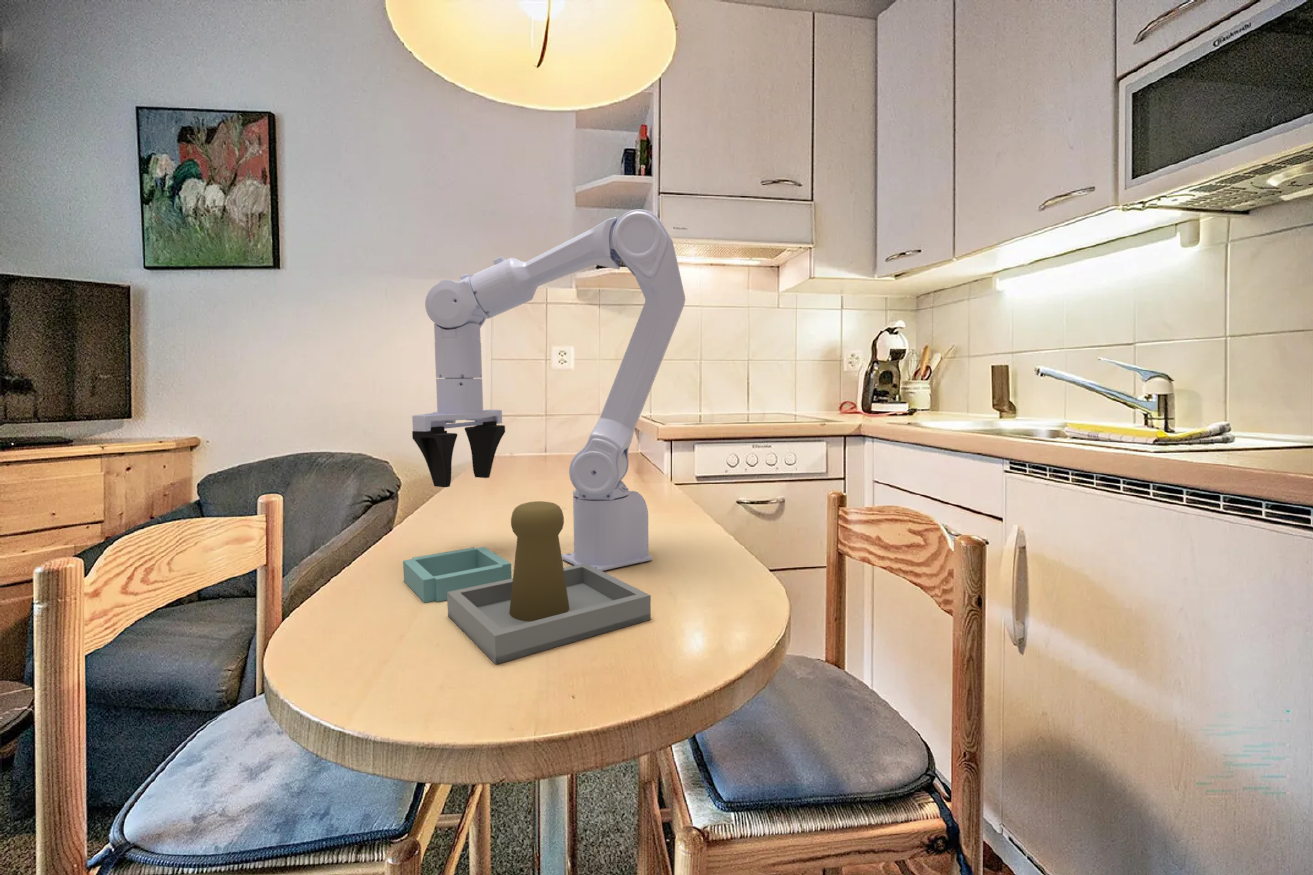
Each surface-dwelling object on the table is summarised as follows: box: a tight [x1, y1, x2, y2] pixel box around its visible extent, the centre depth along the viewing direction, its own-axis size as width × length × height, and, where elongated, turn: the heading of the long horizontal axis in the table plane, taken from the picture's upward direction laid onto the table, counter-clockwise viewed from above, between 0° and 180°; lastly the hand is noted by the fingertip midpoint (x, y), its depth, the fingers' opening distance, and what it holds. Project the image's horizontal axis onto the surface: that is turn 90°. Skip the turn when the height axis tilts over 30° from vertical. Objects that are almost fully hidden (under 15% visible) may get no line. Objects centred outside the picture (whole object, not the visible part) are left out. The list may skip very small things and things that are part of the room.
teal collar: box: [402, 546, 513, 604], centre depth 71 cm, size 10×10×2 cm
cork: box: [509, 500, 570, 622], centre depth 60 cm, size 6×6×11 cm
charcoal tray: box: [446, 563, 652, 665], centre depth 60 cm, size 16×13×2 cm
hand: (462, 481), depth 80 cm, fingers open, 7 cm apart
